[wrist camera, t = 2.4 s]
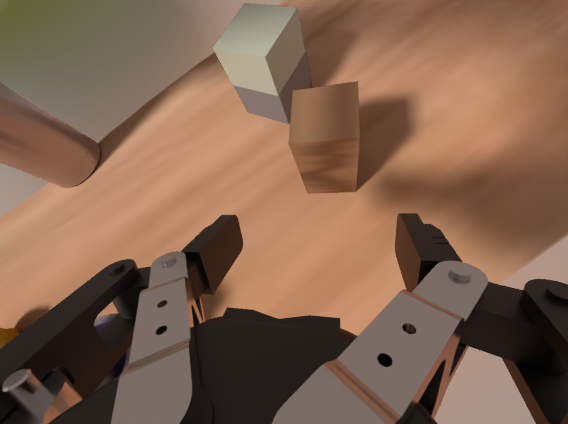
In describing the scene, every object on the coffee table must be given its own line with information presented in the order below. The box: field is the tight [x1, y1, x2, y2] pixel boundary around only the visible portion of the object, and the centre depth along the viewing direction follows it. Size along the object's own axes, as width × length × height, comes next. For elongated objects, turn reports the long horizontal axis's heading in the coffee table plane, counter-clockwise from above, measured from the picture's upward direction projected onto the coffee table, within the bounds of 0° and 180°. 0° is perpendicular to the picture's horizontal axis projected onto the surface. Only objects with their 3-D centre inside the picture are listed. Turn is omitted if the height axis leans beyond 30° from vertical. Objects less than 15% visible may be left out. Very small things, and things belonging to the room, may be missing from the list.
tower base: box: [233, 52, 312, 124], centre depth 32 cm, size 7×7×5 cm
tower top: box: [213, 3, 305, 96], centre depth 28 cm, size 7×7×5 cm
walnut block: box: [289, 81, 360, 193], centre depth 24 cm, size 6×6×10 cm
